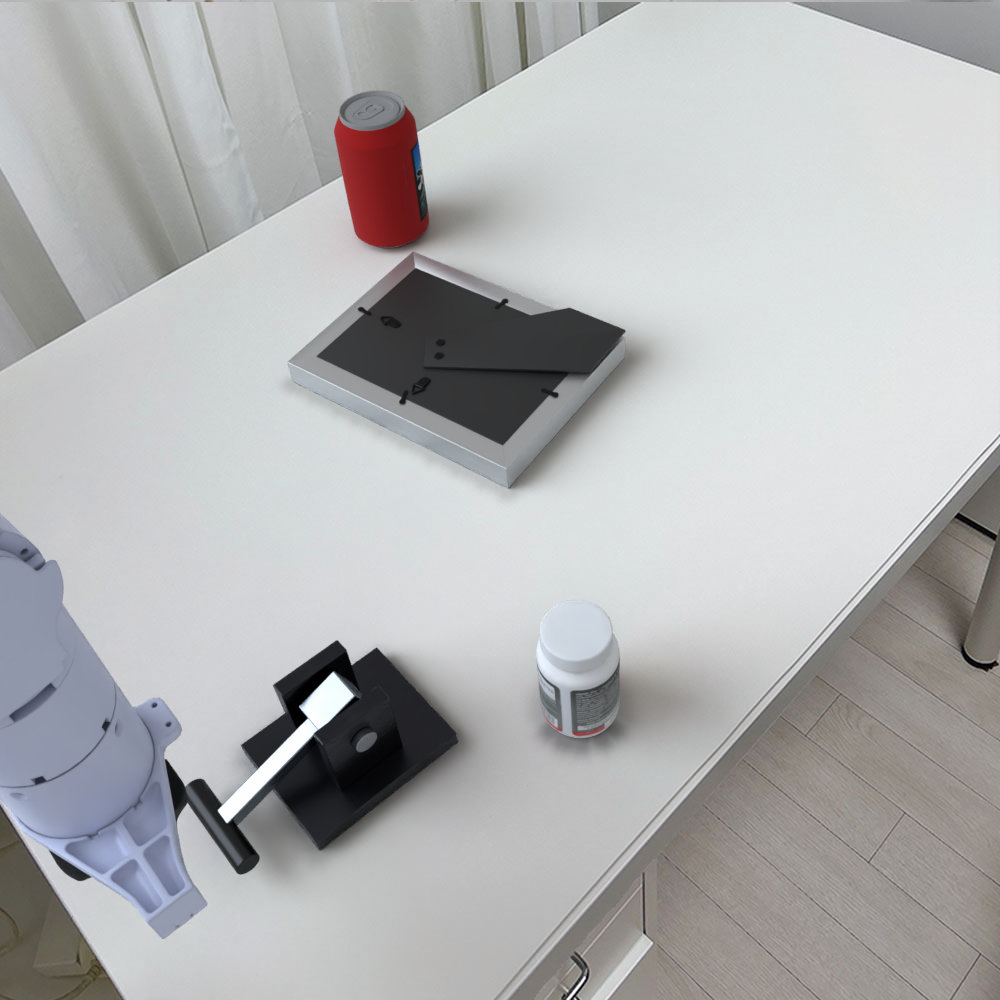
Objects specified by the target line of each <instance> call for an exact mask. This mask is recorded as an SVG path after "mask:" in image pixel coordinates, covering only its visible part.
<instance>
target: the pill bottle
mask: <svg viewBox="0 0 1000 1000" xmlns="http://www.w3.org/2000/svg"><path fill="white" fill-rule="evenodd" d="M535 661H536V668H537V669H536V671H537V679H538V680H537V681H538V690H539V702H540V708H541V713H542V715H543V717H544V719H545V721H546V722H547V724H548V725H549V726H550V727H551V728H552V729H553V730H555V731H556V732H558V733H559V734H562V735H563V736H567V737H569V738H574V739H585V738H587V739H588V738H591V737H595V736H598V735H600V734H601V733H603V732H604V731H606V730H607V729H609V727H610V726H611V725H612V724H613V722H614V721H615V720H616V717H617V716H618V712H619V709H620V702H621V701H620V700H621V699H620V698H621V697H620V695H621V694H620V691H621V689H620V687H621V686H620V682H621V681H620V671H621V670H620V669H621V667H620V665H621V652H620V646H619V641H618V640H617V637H616V636H615V634H614V627H613V624H612V620H611V618H610V616H609V615H608V613H607V612H606V611H605V610H604V609H603V608H602V607H600V606H599V605H597V604H596V603H593V602H591V601H588V600H583V599H569V600H565V601H562V602H560V603H557V604H555V605H554V606H552V607H551V608H549V610H548V611H547V612H546V613H545V614H544V616H543V617H542V619H541V622H540V625H539V639H538V641H537V644H536V650H535Z"/></svg>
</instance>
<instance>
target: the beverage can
mask: <svg viewBox="0 0 1000 1000" xmlns="http://www.w3.org/2000/svg"><path fill="white" fill-rule="evenodd" d="M333 135H334V139H335V145H336V149H337V150H336V151H337V155H338V160H339V165H340V170H341V175H342V180H343V186H344V189H345V194H346V200H347V204H348V208H349V213H350V219H351V222H352V226H353V231H354V234H355V235H356V237H357V238H358V239H359V240H360V241H362V243H364V244H367V245H370V246H372V247H378V248H385V249H389V248H390V249H391V248H392V249H393V248H398V247H403V246H405V245H407V244H409V243H412V242H414V241H415V240H417V239H419V238H420V237H421V236H423V234H424V233H425V232H426V230H428V229H427V228H428V227H429V223H430V214H429V208H428V199H427V192H426V184H425V177H424V170H423V163H422V155H421V149H420V142H419V135H418V130H417V121H416V118H415V116H414V115H413V113H412V111H410V110H409V108H408V107H407V106H406V104H405V102H404V100H403V98H402V97H401V96H400V95H398V94H396V93H394V92H391V91H387V90H368V91H363V92H360V93H356V94H354V95H351V96H350V97H348V98H347V99H346V100H344V101H343V103H342V104H341V105H340V106H339V108H338V116H337V120H336V122H335V125H334V129H333Z"/></svg>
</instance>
